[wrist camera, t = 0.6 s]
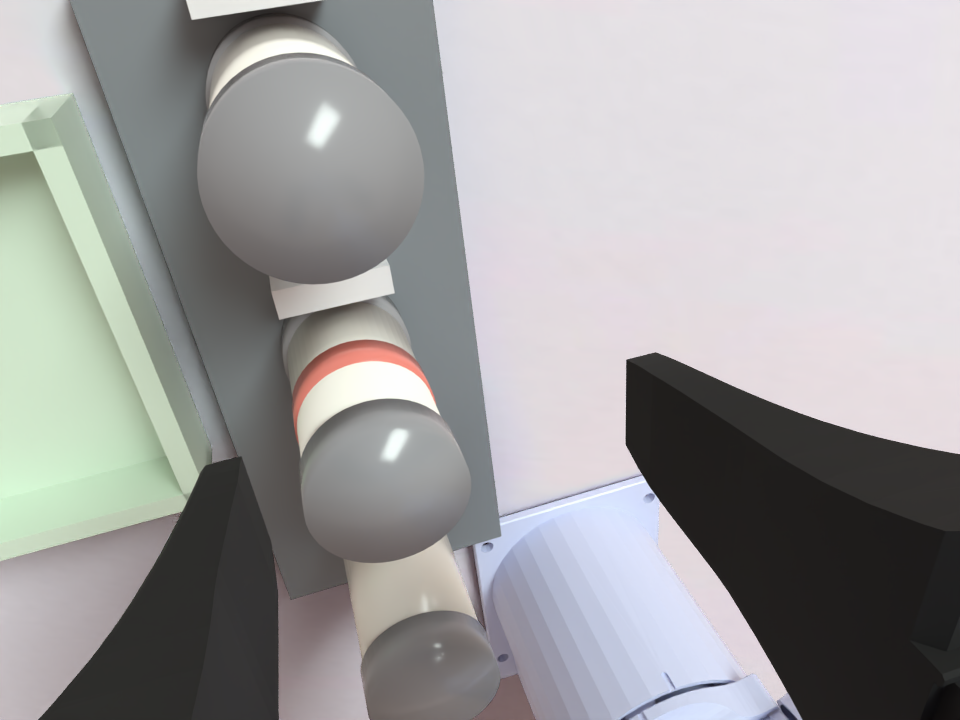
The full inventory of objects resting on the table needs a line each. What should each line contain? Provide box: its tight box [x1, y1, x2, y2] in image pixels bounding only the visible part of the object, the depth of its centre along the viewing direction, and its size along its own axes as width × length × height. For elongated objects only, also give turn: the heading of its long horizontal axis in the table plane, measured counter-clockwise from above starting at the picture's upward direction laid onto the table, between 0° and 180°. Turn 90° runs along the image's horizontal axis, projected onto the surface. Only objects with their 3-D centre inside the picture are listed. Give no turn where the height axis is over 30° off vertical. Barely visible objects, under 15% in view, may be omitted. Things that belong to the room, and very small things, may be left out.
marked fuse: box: [281, 295, 471, 563], centre depth 19 cm, size 4×4×8 cm
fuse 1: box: [197, 13, 424, 285], centre depth 15 cm, size 4×4×8 cm
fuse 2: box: [343, 534, 501, 720], centre depth 23 cm, size 4×4×8 cm
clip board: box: [70, 0, 501, 600], centre depth 21 cm, size 20×8×3 cm, turn 7°
